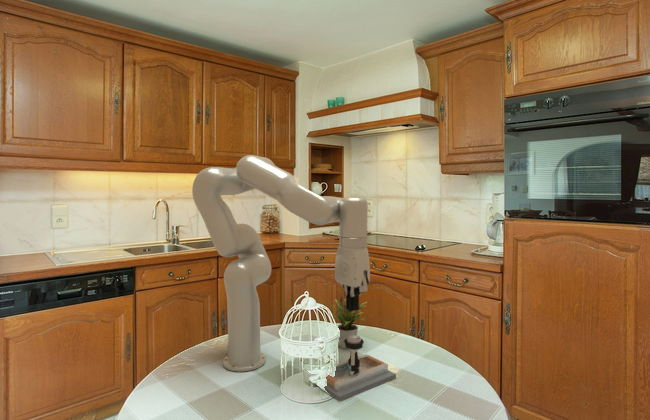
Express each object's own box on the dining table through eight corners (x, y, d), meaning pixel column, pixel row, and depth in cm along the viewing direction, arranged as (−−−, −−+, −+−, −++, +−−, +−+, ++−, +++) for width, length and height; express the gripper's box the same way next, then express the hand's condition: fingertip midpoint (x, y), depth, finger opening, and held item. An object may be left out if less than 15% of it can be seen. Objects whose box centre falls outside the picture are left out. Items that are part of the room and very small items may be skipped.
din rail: (316, 378, 106) (316, 370, 106) (366, 361, 117) (366, 354, 117) (337, 392, 99) (337, 383, 99) (388, 372, 110) (388, 364, 110)
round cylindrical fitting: (361, 380, 104) (361, 343, 104) (341, 378, 106) (341, 341, 105) (365, 369, 111) (365, 334, 110) (346, 367, 112) (346, 333, 112)
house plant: (372, 356, 124) (372, 304, 123) (328, 355, 124) (328, 304, 123) (368, 338, 138) (368, 292, 137) (328, 338, 138) (328, 292, 137)
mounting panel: (309, 381, 107) (309, 377, 107) (363, 362, 119) (363, 358, 119) (339, 401, 97) (339, 396, 97) (395, 378, 109) (395, 373, 109)
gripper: (325, 240, 111) (325, 305, 112) (361, 247, 99) (360, 319, 100) (346, 239, 115) (345, 301, 116) (382, 245, 103) (381, 314, 104)
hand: (352, 309), depth 108 cm, fingers closed
